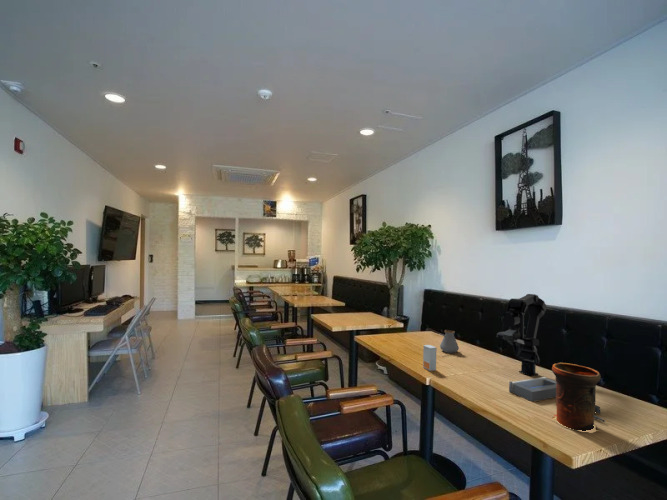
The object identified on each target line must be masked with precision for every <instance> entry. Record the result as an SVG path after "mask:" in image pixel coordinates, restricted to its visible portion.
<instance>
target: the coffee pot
mask: <svg viewBox="0 0 667 500" xmlns="http://www.w3.org/2000/svg"><path fill="white" fill-rule="evenodd" d="M427 331H430V332H433V333H435V334H437V335H439V336H442V337H443V338H442V340H441V342H440V344H439V348H440V349H441V350H442V352H444V353H448V354H455V353H456V352H458V351H459V348H460V347H459V345H458V342H457V339H456V337H455V331H454V330H450V329H445V330H444V334H443V333H440V332H439V331H436V330H434V329H432V328H429V327H427V328H426V332H427Z"/></svg>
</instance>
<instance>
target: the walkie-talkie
mask: <svg viewBox="0 0 667 500" xmlns="http://www.w3.org/2000/svg"><path fill="white" fill-rule="evenodd" d="M595 412H596V413H599V414H601V407H600V406H598V405H597V404H595ZM598 419H599V421H601V422H603V423H605V421H606V420H605V419H603V418H601V417H599V416H597V415H596V414H594V420H598Z"/></svg>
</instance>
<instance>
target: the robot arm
mask: <svg viewBox="0 0 667 500" xmlns="http://www.w3.org/2000/svg"><path fill="white" fill-rule="evenodd" d="M526 311H527V312H528V313H527V314H528V315H529V316H528V322H527V326H525V314H526ZM546 311H547V305H546V303H545V301H544V300H543V299H541V298H540V297H539V295H537V294H534V293H533V294H532V293H527V294H526V295H524V296H522V297H520V298H519V297H518V298H510V299H509V300H508V302H507V305H506V308H505V313H506V314H505V315H504V316H503V317H502V324H503V325H504V326H505V327H507V328H508V330H505V331H499V332H497V333H496V338H497V339H500V340H504V341H506V342H507V343H509V344H510V345H511V347H512V349H513V353H514V355H515V357H517V359H518V361H521V367H520V370H519V371H518V372H519V373H520V374H523V375H527V376H529V377H531V376H537V375H539V373H538V372H536V365H540V357H539V354H538V349H537V347H538V346H540V341H539V339H538V338H537V335H538V334H537V333H538V328H539V324H540V319H541V318H543V316H544V315H545V312H546ZM526 327H527V328H526ZM525 330H526V332H525ZM524 332H525V333H524ZM536 346H537V347H536Z"/></svg>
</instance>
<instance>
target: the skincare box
mask: <svg viewBox="0 0 667 500" xmlns="http://www.w3.org/2000/svg"><path fill="white" fill-rule="evenodd" d="M422 355H423V357H422V359H423V361H422V362H423V363H422V368H423V369H425V370H428V371H429V372H432V371H437V347H436V346H434V345H431V344H425V345H423V353H422Z"/></svg>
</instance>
